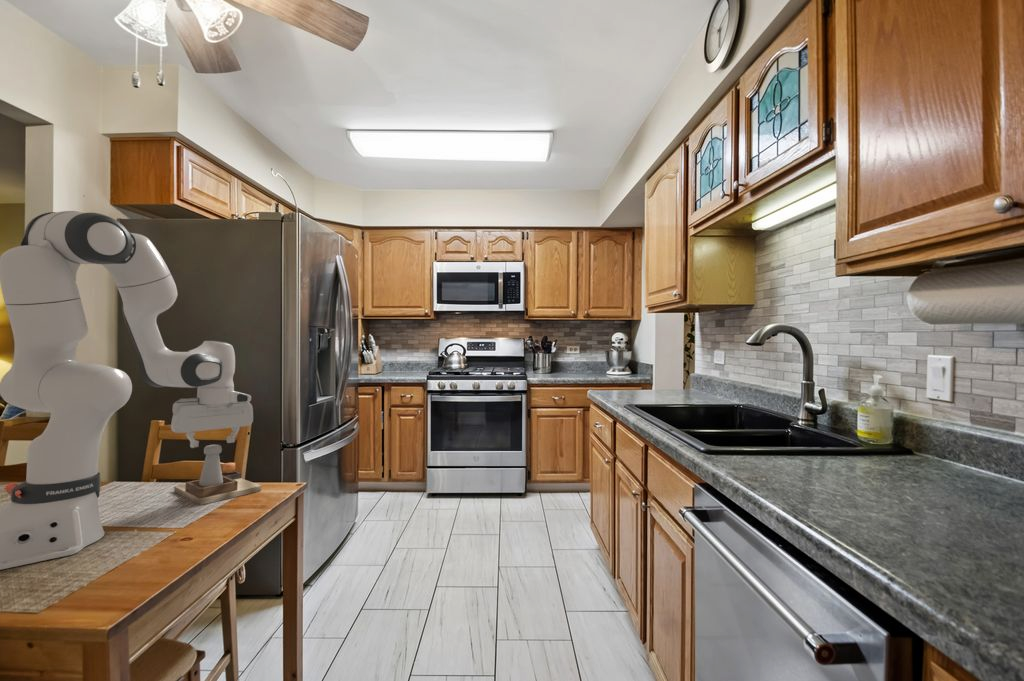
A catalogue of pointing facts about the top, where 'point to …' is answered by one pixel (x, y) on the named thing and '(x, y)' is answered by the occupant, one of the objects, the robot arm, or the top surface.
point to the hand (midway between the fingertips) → (212, 444)
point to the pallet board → (217, 489)
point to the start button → (228, 467)
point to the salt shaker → (211, 467)
